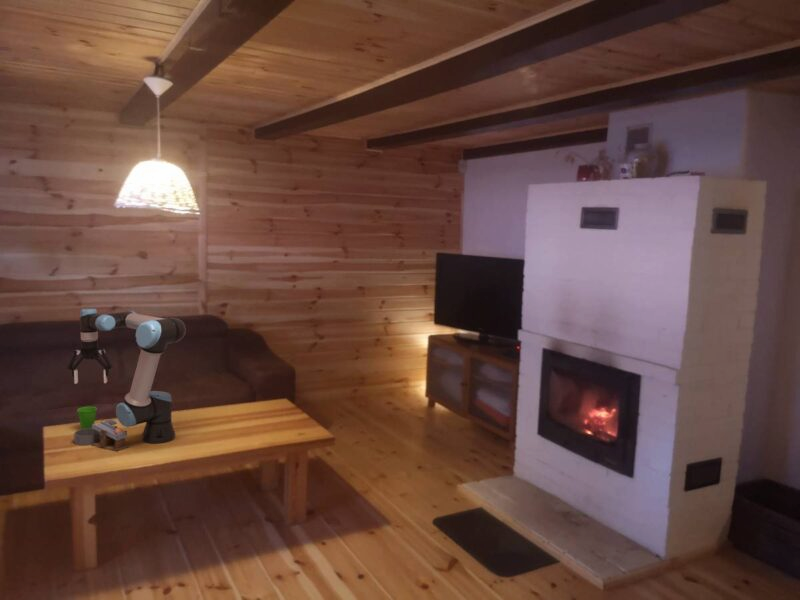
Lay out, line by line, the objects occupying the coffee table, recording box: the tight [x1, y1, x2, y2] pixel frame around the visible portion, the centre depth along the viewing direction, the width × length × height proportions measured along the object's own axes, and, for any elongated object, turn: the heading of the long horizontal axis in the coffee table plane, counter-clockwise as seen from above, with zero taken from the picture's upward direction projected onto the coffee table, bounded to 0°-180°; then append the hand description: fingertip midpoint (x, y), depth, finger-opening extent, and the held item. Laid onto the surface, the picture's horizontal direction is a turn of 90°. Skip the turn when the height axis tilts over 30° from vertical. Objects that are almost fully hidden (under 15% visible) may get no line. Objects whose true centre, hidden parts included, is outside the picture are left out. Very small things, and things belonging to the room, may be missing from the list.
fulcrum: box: [90, 425, 130, 453], centre depth 295 cm, size 16×9×9 cm, turn 68°
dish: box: [73, 428, 101, 446], centre depth 300 cm, size 11×11×4 cm
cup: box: [76, 406, 98, 430], centre depth 315 cm, size 9×9×11 cm
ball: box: [115, 427, 124, 435], centre depth 293 cm, size 4×4×4 cm
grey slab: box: [92, 419, 128, 441], centre depth 297 cm, size 16×12×3 cm
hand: (91, 382), depth 310 cm, fingers open, 13 cm apart
